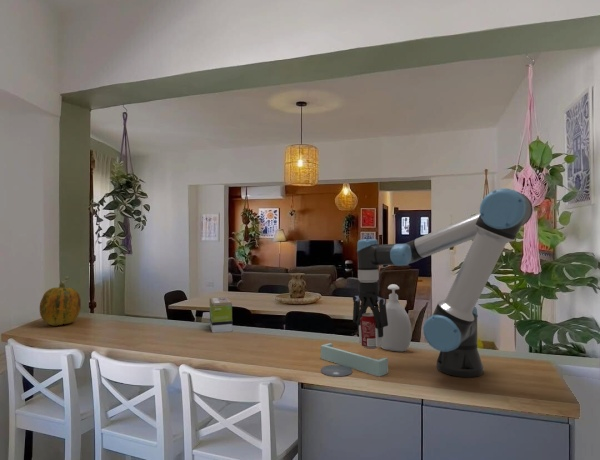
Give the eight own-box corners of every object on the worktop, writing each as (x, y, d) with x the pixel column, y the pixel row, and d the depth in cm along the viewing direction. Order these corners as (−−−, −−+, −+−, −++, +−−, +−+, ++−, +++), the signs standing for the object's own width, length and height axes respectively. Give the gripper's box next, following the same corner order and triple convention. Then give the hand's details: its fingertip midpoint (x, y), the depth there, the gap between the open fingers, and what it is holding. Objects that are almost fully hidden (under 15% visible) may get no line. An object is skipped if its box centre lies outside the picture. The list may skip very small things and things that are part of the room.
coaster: (358, 371, 140) (358, 370, 140) (337, 379, 133) (337, 378, 133) (335, 364, 148) (335, 362, 148) (314, 371, 141) (314, 369, 141)
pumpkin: (76, 319, 227) (76, 274, 227) (84, 325, 212) (84, 277, 213) (37, 324, 215) (37, 277, 215) (42, 330, 200) (42, 280, 201)
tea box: (209, 326, 209) (209, 297, 209) (228, 325, 212) (228, 296, 212) (211, 333, 195) (211, 302, 195) (232, 331, 198) (232, 301, 198)
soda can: (380, 349, 144) (378, 315, 144) (360, 349, 145) (359, 315, 146) (380, 344, 150) (379, 312, 151) (361, 344, 152) (360, 312, 152)
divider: (387, 373, 138) (387, 358, 138) (379, 376, 135) (379, 361, 135) (329, 355, 158) (329, 343, 158) (320, 358, 155) (320, 345, 155)
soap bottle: (414, 349, 167) (413, 283, 167) (409, 354, 160) (409, 286, 160) (379, 344, 174) (379, 282, 174) (374, 349, 166) (373, 284, 167)
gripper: (397, 281, 144) (399, 346, 143) (354, 279, 158) (355, 338, 158) (385, 283, 139) (387, 351, 138) (341, 280, 153) (343, 341, 152)
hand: (370, 344), depth 148 cm, fingers closed on soda can, 7 cm apart
